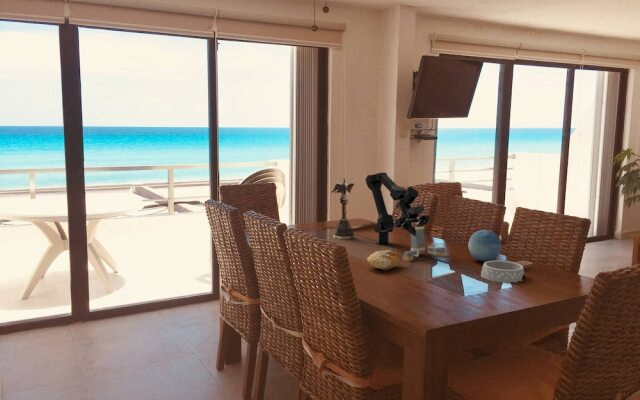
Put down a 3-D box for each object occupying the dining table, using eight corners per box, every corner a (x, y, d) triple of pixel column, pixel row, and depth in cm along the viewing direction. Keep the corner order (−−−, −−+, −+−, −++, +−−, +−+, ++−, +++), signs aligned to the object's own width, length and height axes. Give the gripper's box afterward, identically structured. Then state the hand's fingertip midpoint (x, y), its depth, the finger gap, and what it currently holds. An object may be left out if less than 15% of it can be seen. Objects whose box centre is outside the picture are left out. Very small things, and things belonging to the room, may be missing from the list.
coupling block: (410, 253, 272) (409, 226, 272) (419, 252, 274) (418, 226, 274) (416, 253, 268) (415, 227, 267) (425, 252, 270) (424, 226, 270)
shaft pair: (400, 258, 265) (400, 249, 264) (439, 253, 275) (439, 244, 274) (407, 261, 260) (407, 251, 259) (446, 256, 270) (447, 246, 269)
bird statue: (327, 234, 323) (327, 174, 319) (348, 233, 326) (349, 174, 321) (333, 239, 307) (333, 177, 302) (355, 238, 310) (356, 177, 305)
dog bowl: (527, 274, 238) (528, 262, 238) (519, 285, 223) (520, 272, 222) (487, 269, 247) (488, 257, 246) (476, 279, 231) (477, 267, 231)
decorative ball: (464, 262, 257) (465, 231, 255) (471, 256, 270) (472, 226, 268) (497, 266, 250) (499, 234, 248) (503, 259, 264) (504, 228, 262)
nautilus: (406, 264, 257) (417, 274, 243) (362, 263, 253) (370, 273, 239) (408, 247, 256) (419, 257, 241) (363, 246, 252) (372, 256, 237)
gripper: (397, 201, 268) (410, 227, 259) (429, 198, 276) (442, 224, 268) (388, 214, 276) (400, 240, 268) (419, 212, 284) (431, 236, 276)
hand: (419, 235), depth 269 cm, fingers closed on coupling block, 5 cm apart
